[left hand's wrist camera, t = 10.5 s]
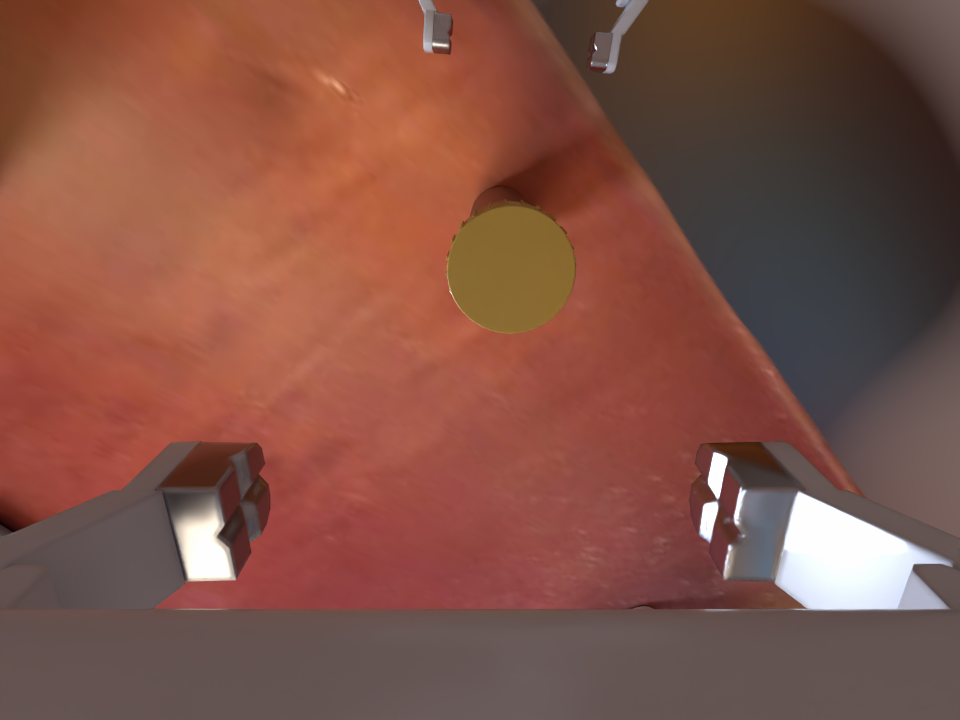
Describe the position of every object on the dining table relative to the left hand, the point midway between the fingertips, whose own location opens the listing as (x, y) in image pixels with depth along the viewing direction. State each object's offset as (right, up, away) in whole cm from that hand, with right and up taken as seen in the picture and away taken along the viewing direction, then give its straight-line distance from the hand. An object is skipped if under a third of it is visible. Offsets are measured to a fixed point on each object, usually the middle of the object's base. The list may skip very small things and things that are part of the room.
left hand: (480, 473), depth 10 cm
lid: (+1, +6, +11) cm, 13 cm away
